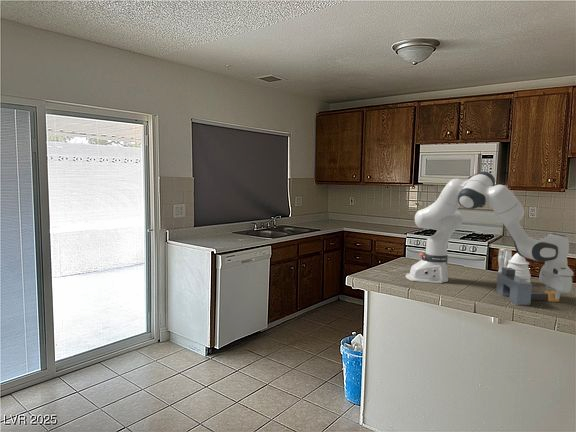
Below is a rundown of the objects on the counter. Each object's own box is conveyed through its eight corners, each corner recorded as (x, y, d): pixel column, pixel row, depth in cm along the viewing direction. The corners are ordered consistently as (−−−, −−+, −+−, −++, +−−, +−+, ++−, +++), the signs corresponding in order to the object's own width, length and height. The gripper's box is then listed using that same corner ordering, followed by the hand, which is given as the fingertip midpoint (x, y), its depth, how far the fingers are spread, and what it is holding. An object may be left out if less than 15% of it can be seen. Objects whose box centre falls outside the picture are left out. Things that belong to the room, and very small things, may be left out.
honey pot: (533, 286, 217) (536, 253, 215) (507, 284, 219) (510, 251, 217) (524, 280, 229) (527, 249, 227) (500, 279, 232) (502, 247, 230)
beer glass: (494, 273, 245) (496, 248, 244) (505, 273, 246) (507, 248, 244) (501, 276, 238) (503, 250, 237) (512, 276, 239) (514, 250, 237)
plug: (519, 300, 192) (519, 291, 191) (514, 297, 196) (515, 289, 196) (559, 301, 191) (559, 293, 190) (553, 298, 195) (554, 290, 195)
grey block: (516, 305, 184) (518, 276, 183) (496, 291, 205) (498, 266, 204) (530, 305, 184) (532, 277, 183) (508, 292, 205) (510, 266, 203)
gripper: (536, 263, 202) (534, 290, 203) (561, 272, 182) (558, 303, 183) (550, 263, 202) (547, 290, 203) (576, 273, 181) (573, 303, 183)
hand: (552, 296), depth 193 cm, fingers closed on plug, 4 cm apart
